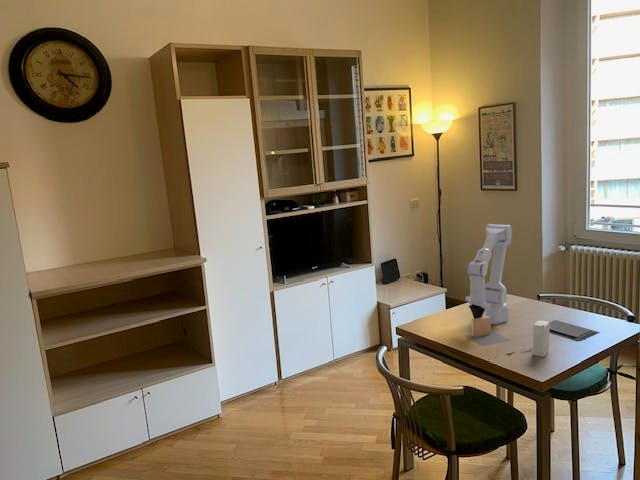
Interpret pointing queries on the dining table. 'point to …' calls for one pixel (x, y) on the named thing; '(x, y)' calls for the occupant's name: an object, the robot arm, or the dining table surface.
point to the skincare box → (541, 338)
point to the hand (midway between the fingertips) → (477, 322)
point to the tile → (481, 326)
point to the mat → (488, 338)
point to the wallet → (570, 331)
